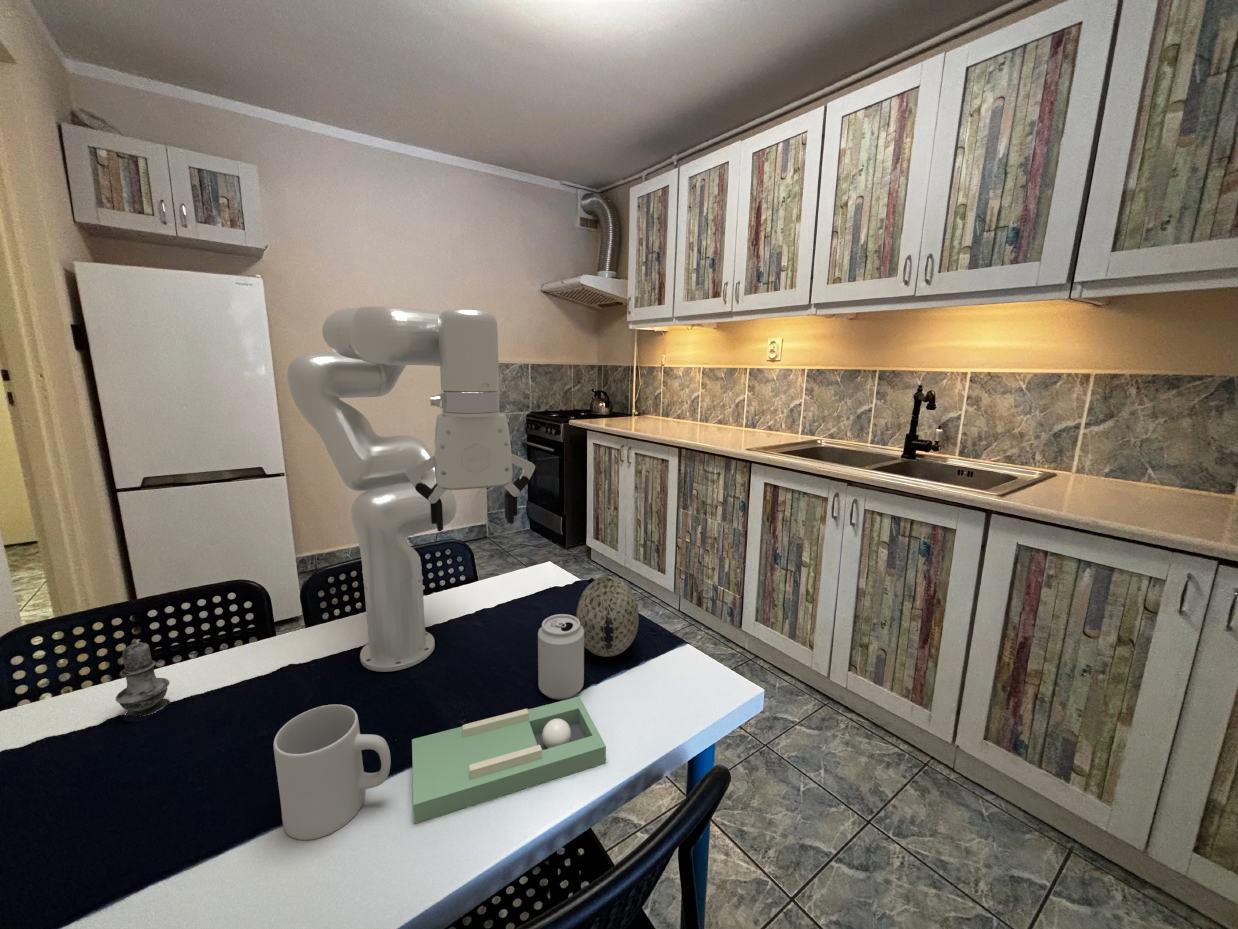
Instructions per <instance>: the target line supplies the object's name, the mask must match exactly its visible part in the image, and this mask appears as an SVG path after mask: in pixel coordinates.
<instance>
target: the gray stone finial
mask: <svg viewBox="0 0 1238 929" xmlns="http://www.w3.org/2000/svg"><path fill="white" fill-rule="evenodd" d="M130 643H131V644H130V645H128V646H127V647H125V648H124V649H123V651H122V658H123V659H122V660H123V665H124V668H123V669H122V671H121V674H122V675H125V679H126V687H125V688H123V689H122V690H121V691H119V692H118V693H117V695H116V697H115V702H116V703H118V704H119V705H120V706H121V707H122V708H123V710H124V711H125V710H126V712H127V713H126V712H125V713H126V716H127V715H135V716H137V715H142V714H144V715H142V716H146V715H150V714H153V713H156V712H157V711H159V710H161V709H163V708H164V707H165V706H166V705H168V704H170V705H171V701H170V699H167V698H165V697H166V695H167V692H168V687H169V686H170V680H169V679H168V678H165V677H157V675H156V674H155V669H154V668H155V667H154V666H155V665H156V663H157V661H156V660H153V659H152V656H151V649H150V645H149V644H148V643H146V642H138V639H136V638H133V639H132V641H131V642H130ZM147 713H148V714H147ZM140 717H141V716H140Z"/></svg>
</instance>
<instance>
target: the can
mask: <svg viewBox="0 0 1238 929" xmlns="http://www.w3.org/2000/svg"><path fill="white" fill-rule="evenodd" d="M537 656H538V657H537V662H538V663H537V666H538V667H537V670H538V678H537V679H538V688H539V689H538V690H540V692H541V693H542V694H544V695H545V696H546V697H548V698H549V699H553V700H556V701H557V700H560V701H564V700H568V699H571V698H572V697H574V696H575V695H576V694H577V693H579V692H580V691H581V690H582V689H583V687H584V681H585V676H584V675H585V646H584V629H583V627H582V626H581V625H580V621H579V619H577V618H576V616H574V615H572V614H567V613H566V614H565V613H564V614H563V613H561V614H560V613H559V614H558V613H557V614H554V615H553V614H552V615H551V616H548V617H547V618H545V619H543V621H542V623H541V627H540V628H539V629H538V632H537Z"/></svg>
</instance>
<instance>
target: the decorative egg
mask: <svg viewBox="0 0 1238 929" xmlns="http://www.w3.org/2000/svg"><path fill="white" fill-rule="evenodd" d="M639 616H640V615H639V608H638V603H637V601H636V598H635V595H634V593H633V591H632V590H631V589H630V587H629V585H627V584H626V582H624V581H623V580H622V579H620V578H618V577H615V576H611V575H609V576H608V575H606V576H601V577H599V578H596V579H595V580H593V581H592V582H591V583H589V584H588V585H587V587H585V589H584V590H583V591H582V594H581V595H580V597H579V601H578V603H577V606H576V611H575V617H576V618H577V619H579V621H580V625H581V626H582V627H583V629H584V648H585V649H587V650H588V651H589V652H591V653H592V654H593V655H596V656H599V657H602V658H603V657H605V658H606V657H608V658H609V657H615V656H617V655H619V654H622V653H623V652H624V651H626V650H627V649H629V647H630V646H631V645H632V643H633V642H634V639H635V638H636V635H637V632H638V628H639V624H640V623H639V619H640V617H639Z"/></svg>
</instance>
